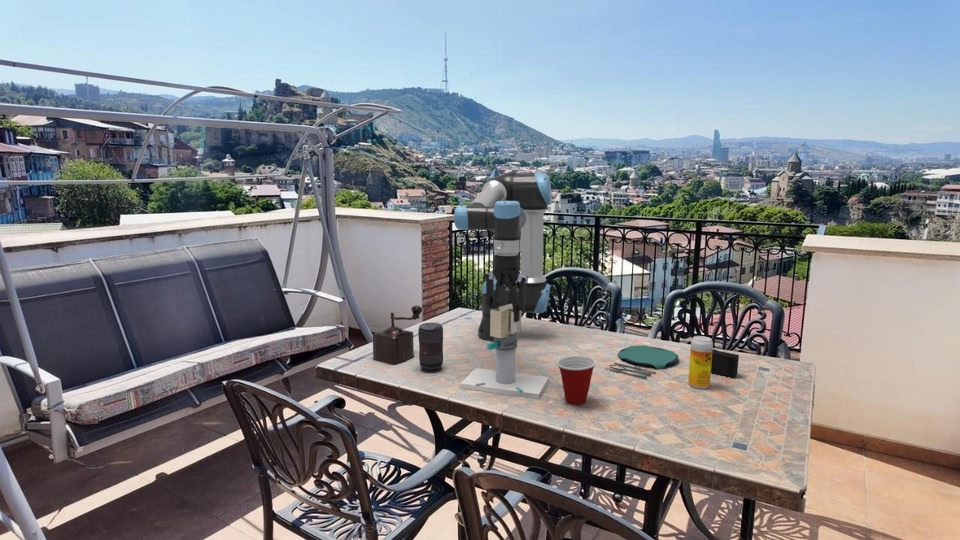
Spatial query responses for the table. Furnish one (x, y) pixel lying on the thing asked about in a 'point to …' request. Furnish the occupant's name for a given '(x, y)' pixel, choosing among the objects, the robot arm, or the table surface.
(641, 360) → the cutlery set
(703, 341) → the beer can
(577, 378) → the plastic cup
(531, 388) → the base
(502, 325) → the beige boxy piece
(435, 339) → the camera lens
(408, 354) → the manual coffee grinder
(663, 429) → the table surface
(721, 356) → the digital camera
